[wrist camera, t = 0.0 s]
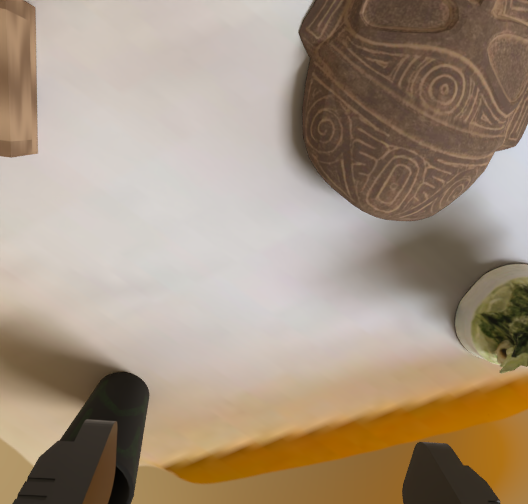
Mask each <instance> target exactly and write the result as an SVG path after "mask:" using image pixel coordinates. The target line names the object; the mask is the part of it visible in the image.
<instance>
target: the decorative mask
mask: <svg viewBox="0 0 528 504" xmlns="http://www.w3.org/2000/svg"><path fill="white" fill-rule="evenodd" d="M299 34H300V37H301V39H302V42H303V45H304V47H305V49H306V51H307V53H308V55H309V57H310V64H309V69H308V74H307V79H306V86H305V93H304V100H303V108H302V113H303V138H304V141H305V145H306V148H307V152H308V155H309V159H310V160H311V162H312V163H313V165H314V166H315V168H316V170H317V171H318V173H319V174H320V175H321V176H322V178H323V179H324V180H325V181H326V182H327V183H328V184H329V185H330V186H331V187H332V188H333V189H334V190H335V191H337V192H338V193H339V194H340V195H341V196H343V197H344V198H345V199H346V200H348V201H349V202H350V203H351V204H353V205H354V206H356V207H357V208H359V209H360V210H362V211H364V212H366V213H368V214H370V215H372V216H375V217H378V218H382V219H385V220H395V221H416V220H421V219H425V218H427V217H430V216H433V215H434V214H436V213H437V212H439V211H440V210H442V209H443V208H445V207H446V206H448V205H449V204H450V203H451V202H453V201H454V200H455V199H456V198H458V197H459V196H460V195H461V194H462V193H464V192H465V191H466V190H467V189H468V188H469V187H470V186H471V185H472V184H473V183H474V182H475V181H476V179H477V178H478V177H479V176H480V175H481V174H482V173H483V172H484V171H485V169H486V167H487V165H488V163H489V162H490V160H491V158H492V156H493V154H494V152H495V151H500V150H505V149H508V148H511V147H514V146H516V145H517V143H518V142H519V140H520V139H521V137H522V135H523V133H524V131H525V129H526V126H527V124H528V0H316V1H315V3H314V5H313V7H312V8H311V10H310V11H309V13H308V14H307V16H306V18H305V19H304V21H303V23H302V26H301V29H300V32H299Z"/></svg>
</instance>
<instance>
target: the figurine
mask: <svg viewBox="0 0 528 504" xmlns="http://www.w3.org/2000/svg"><path fill="white" fill-rule="evenodd" d="M455 328H456V333H457V336H458V338H459V340H460V342H461V343H462V345H463V346H464V347H465V348H466V349H467V350H468V351H469V352H470V353H472V354H473V355H475V356H477V357H479V358H481V359H485V360H487V361H489V362H491V363H493V364H498V365H500V366H501V367H503V368H502V369H501V370H500V373H505V372H508V371H512V370H515V369H516V368H517V367H519V366H521V365H522V366H526V367H527V366H528V265H526V264H511V265H505V266H502V267H499V268H496V269H494V270H492V271H490V272H488V273H486V274H485V275H483V276H482V277H481V278H480V279H479V280H478V281H477V282H476V283H475V284H474V285H473V286H472V287H471V289H470V290H469V291H468V292H467V293H466V295H465V296H464V297H463V298H462V300H461V301H460V303H459V306H458V309H457V312H456V318H455Z"/></svg>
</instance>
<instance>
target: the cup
mask: <svg viewBox="0 0 528 504" xmlns="http://www.w3.org/2000/svg"><path fill="white" fill-rule="evenodd" d="M148 401H149V390H148V387H147V386H146V384H145V383H144V381H143V380H142V379H140V378H139V377H137V376H136V375H133V374H131V373H126V372H117V373H113V374H110V375H108V376H106V377H105V378H103V379H102V380H101V381H100V383H99V384H98V386H97V387H96V389H95V390H94V391H93V393H92V394H91V396H90V397H89V399H88V400H87V402H86V403H85V405H84V406H83V407H82V409H81V410H80V412H79V413H78V415H77V416H76V418H75V419H74V420H73V422H72V423H71V425H70V426H69V428H68V429H67V431H66V432H65V434H64V435H63V436H62V438H61V439H60V441H72V442H74V441H75V439H76V437H77V435H78V433H79V431H80V429H81V427H82V425H83V423H84V421H85V420H87V419H88V420H104V421H116V422H117V447H116V468H115V476H114V482H113V487H112V491H111V495H110V498H109V502H108V504H131V501H132V499H133V496H134V490H135V483H136V477H137V471H138V465H139V458H140V452H141V446H142V439H143V433H144V427H145V420H146V414H147V408H148Z"/></svg>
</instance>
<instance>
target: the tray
mask: <svg viewBox="0 0 528 504" xmlns="http://www.w3.org/2000/svg"><path fill="white" fill-rule="evenodd" d="M37 153H38V139H37V79H36V18H35V7H34V6H32V5H30V4H29V3H27V2H25V1H23V0H0V156H4V157H17V156H24V155H30V154H37Z"/></svg>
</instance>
